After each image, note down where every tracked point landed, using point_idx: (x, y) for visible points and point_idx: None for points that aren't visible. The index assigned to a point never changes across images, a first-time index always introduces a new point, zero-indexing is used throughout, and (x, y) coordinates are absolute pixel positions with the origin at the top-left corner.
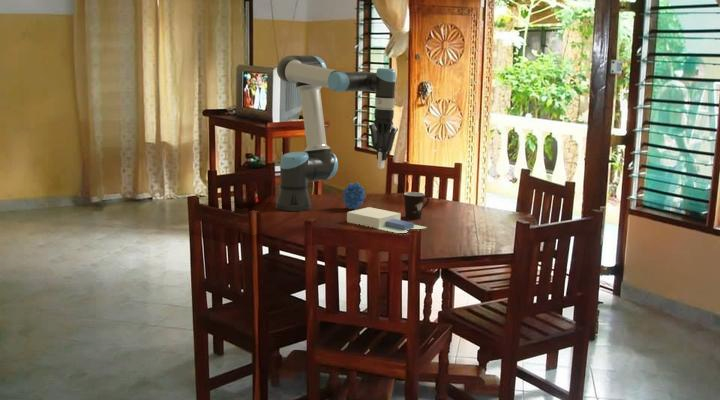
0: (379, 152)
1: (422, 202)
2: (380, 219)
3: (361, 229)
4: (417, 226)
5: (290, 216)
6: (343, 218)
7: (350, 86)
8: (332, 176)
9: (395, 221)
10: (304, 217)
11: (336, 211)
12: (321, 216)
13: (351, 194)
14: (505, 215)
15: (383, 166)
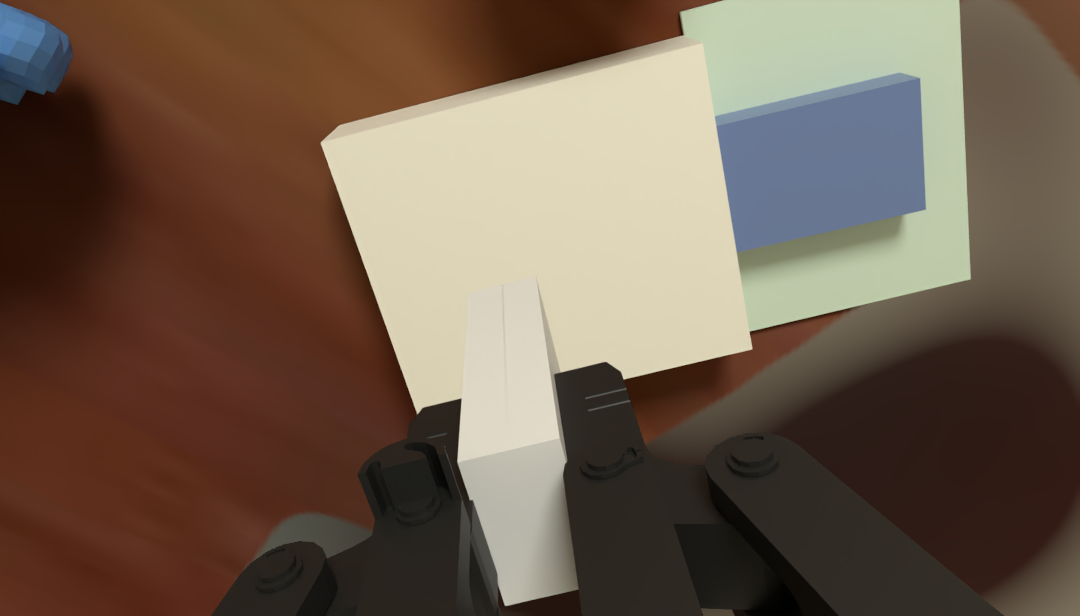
0: (541, 591)
1: None
2: (746, 330)
3: (670, 423)
4: (885, 1)
5: (111, 606)
6: (311, 343)
7: None
8: None
9: (782, 187)
10: (173, 550)
11: (43, 248)
12: (184, 442)
13: None
14: None
15: (546, 322)
